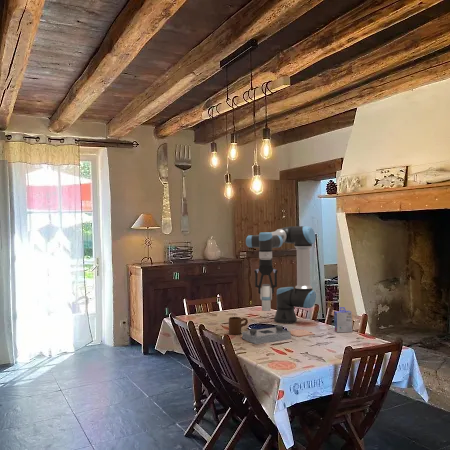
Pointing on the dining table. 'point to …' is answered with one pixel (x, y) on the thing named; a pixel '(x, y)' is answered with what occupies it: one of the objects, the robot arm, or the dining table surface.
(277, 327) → the plunger far
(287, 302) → the robot arm
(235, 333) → the mug
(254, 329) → the plunger near
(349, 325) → the ink cartridge box
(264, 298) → the cylinder
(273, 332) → the housing
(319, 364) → the dining table surface
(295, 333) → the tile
